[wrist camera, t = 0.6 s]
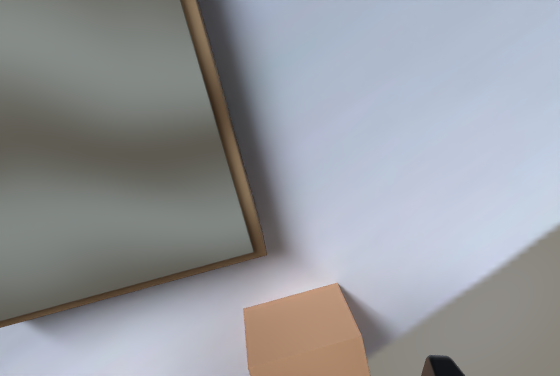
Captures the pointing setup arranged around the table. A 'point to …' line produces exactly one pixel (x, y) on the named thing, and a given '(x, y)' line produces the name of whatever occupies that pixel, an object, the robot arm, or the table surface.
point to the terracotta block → (305, 336)
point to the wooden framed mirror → (113, 154)
